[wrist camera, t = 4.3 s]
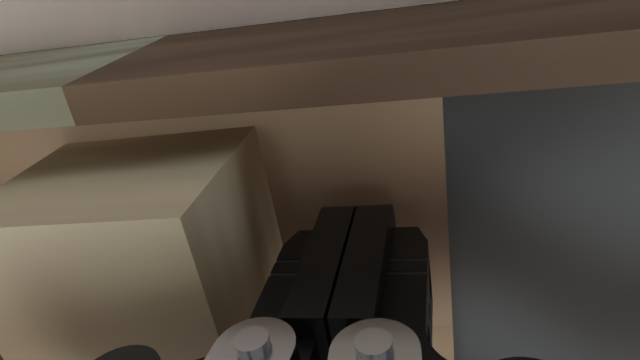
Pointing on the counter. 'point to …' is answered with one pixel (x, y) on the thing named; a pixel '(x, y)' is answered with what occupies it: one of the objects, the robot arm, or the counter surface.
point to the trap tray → (408, 146)
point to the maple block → (135, 245)
